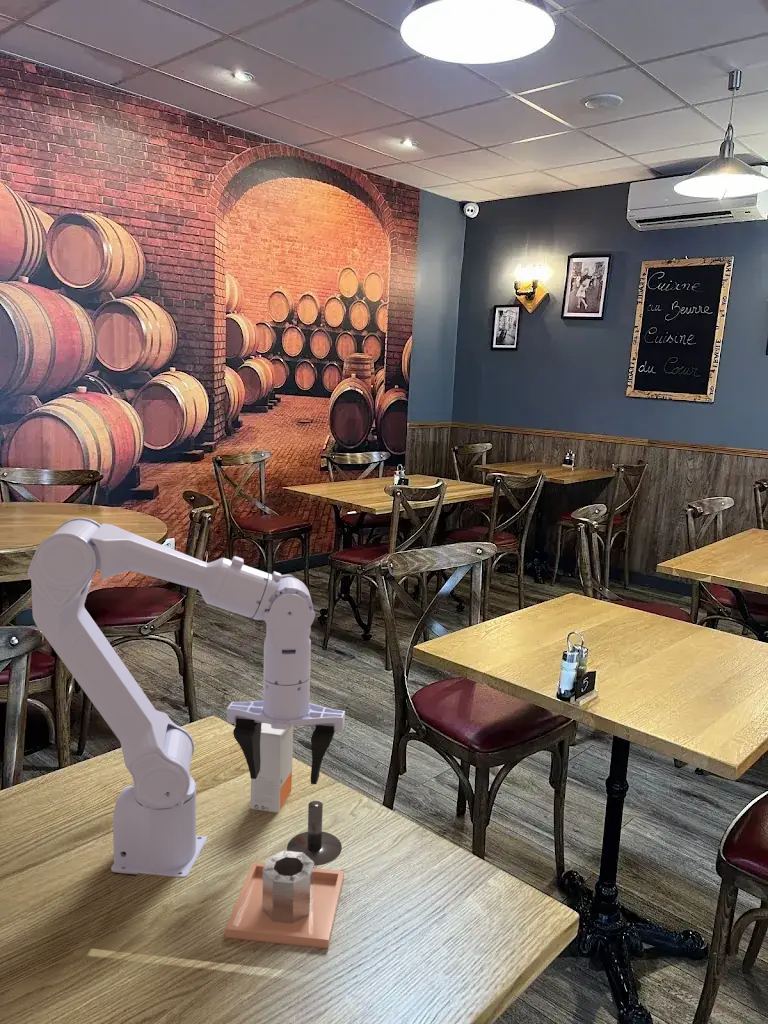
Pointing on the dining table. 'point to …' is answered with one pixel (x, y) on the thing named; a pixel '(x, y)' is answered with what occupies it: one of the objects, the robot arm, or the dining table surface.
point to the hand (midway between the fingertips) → (285, 777)
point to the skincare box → (273, 769)
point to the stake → (316, 838)
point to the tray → (305, 932)
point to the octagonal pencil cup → (288, 886)
